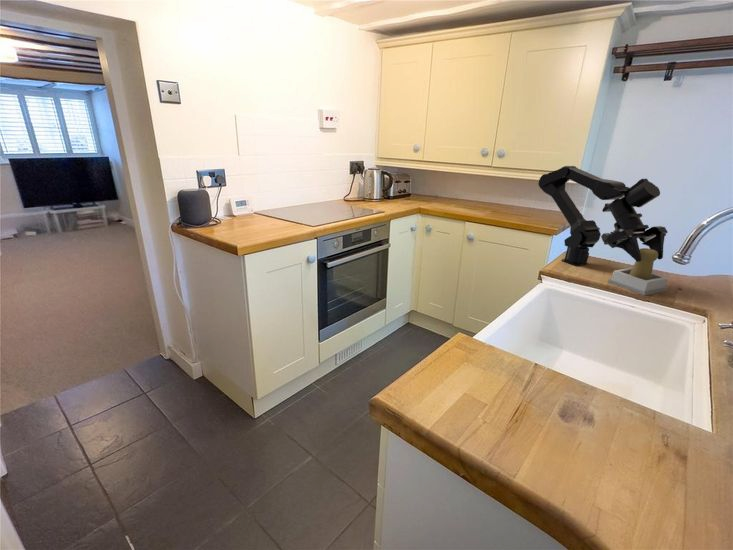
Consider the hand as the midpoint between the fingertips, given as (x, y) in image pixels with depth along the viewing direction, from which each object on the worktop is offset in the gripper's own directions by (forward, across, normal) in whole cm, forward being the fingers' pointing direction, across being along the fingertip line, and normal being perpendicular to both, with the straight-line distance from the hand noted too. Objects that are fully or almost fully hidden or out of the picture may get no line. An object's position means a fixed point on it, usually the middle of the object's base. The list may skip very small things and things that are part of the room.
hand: (650, 260), depth 106 cm
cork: (+5, 0, -7) cm, 8 cm away
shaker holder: (+5, 0, -7) cm, 9 cm away
